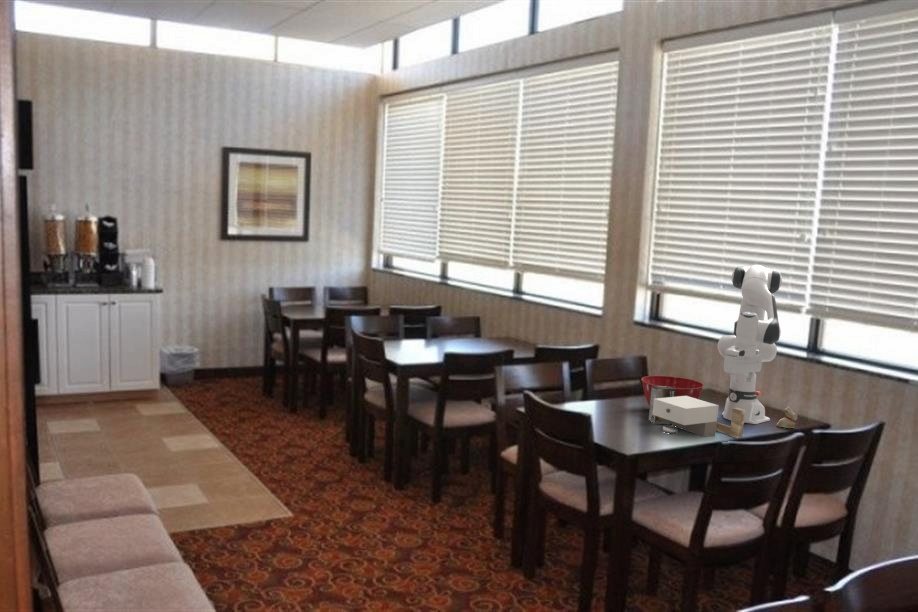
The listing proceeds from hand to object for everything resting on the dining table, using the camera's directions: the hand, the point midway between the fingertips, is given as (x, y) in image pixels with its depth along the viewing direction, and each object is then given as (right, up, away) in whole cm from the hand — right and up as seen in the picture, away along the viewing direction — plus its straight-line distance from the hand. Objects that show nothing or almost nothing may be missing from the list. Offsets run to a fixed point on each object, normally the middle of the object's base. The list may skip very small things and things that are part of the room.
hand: (741, 382), depth 345 cm
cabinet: (-23, -21, +5) cm, 32 cm away
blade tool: (-6, -22, +10) cm, 25 cm away
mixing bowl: (-21, -18, +37) cm, 46 cm away
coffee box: (-30, -20, +19) cm, 40 cm away
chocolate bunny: (+29, -23, +26) cm, 45 cm away
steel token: (-30, -22, +2) cm, 37 cm away
